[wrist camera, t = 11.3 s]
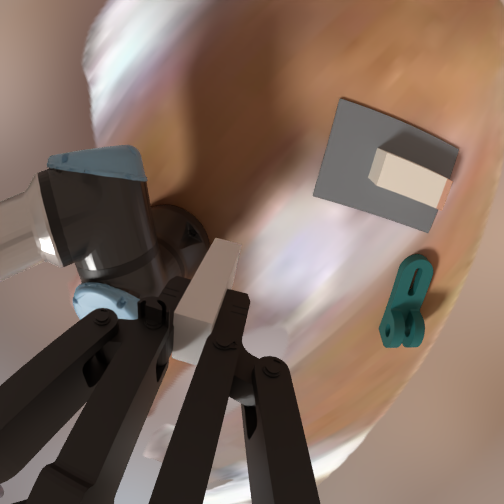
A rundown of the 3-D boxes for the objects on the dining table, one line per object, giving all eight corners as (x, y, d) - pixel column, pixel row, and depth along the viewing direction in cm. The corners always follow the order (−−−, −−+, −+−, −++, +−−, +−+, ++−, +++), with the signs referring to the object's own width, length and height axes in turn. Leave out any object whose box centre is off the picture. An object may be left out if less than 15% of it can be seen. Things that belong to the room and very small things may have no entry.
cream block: (376, 185, 37) (441, 210, 37) (387, 152, 35) (452, 181, 34) (367, 177, 41) (429, 200, 41) (377, 147, 39) (438, 173, 39)
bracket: (405, 328, 55) (415, 354, 48) (378, 327, 55) (386, 354, 48) (432, 255, 46) (449, 277, 39) (402, 252, 47) (417, 275, 40)
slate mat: (312, 195, 44) (312, 196, 44) (339, 98, 37) (340, 98, 36) (427, 232, 44) (428, 233, 44) (457, 149, 36) (458, 149, 36)
